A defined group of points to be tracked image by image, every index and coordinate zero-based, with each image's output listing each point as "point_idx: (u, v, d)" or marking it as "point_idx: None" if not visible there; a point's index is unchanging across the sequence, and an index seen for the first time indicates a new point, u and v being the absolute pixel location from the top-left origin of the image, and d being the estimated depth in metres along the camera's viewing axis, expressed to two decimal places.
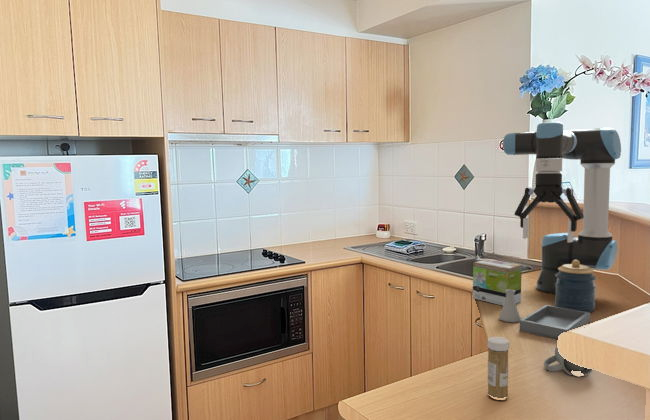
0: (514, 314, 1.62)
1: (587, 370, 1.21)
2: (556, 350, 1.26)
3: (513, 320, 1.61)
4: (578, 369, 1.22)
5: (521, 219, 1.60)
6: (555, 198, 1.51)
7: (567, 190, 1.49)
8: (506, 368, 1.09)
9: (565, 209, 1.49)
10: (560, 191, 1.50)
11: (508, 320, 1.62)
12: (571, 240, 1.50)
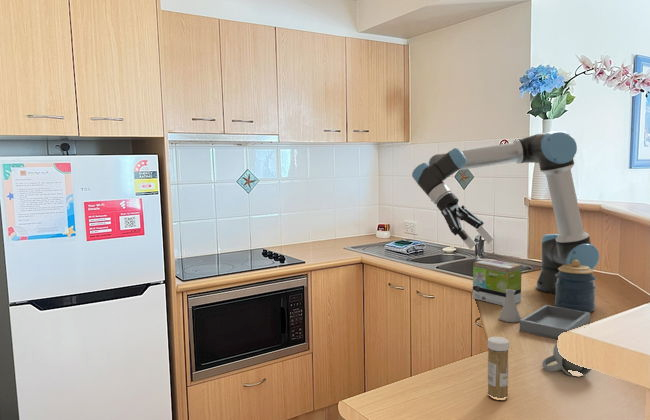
0: (514, 314, 1.62)
1: (585, 370, 1.21)
2: (554, 350, 1.26)
3: (513, 320, 1.61)
4: (576, 369, 1.22)
5: None
6: None
7: None
8: (506, 368, 1.09)
9: None
10: None
11: (508, 320, 1.62)
12: (471, 245, 1.64)
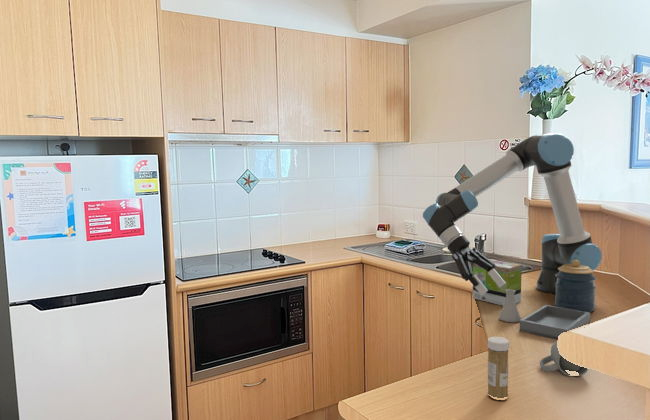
0: (514, 314, 1.62)
1: (582, 370, 1.21)
2: (552, 350, 1.26)
3: (513, 320, 1.61)
4: (574, 369, 1.22)
5: None
6: None
7: None
8: (506, 368, 1.09)
9: None
10: None
11: (508, 320, 1.62)
12: (483, 292, 1.62)
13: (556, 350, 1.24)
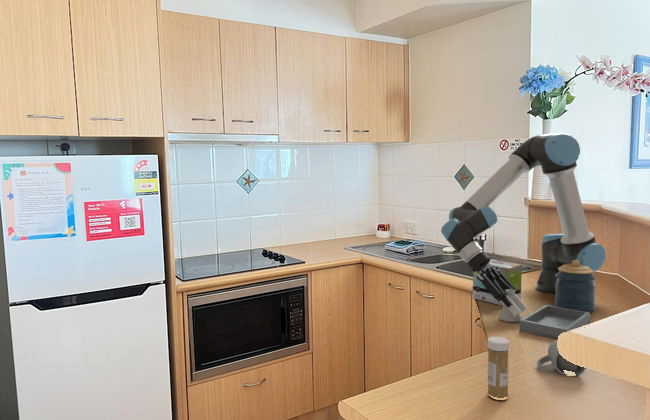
0: None
1: (580, 370, 1.21)
2: (549, 350, 1.26)
3: (513, 320, 1.61)
4: (571, 369, 1.22)
5: None
6: None
7: None
8: (506, 368, 1.09)
9: None
10: None
11: (508, 320, 1.62)
12: (516, 313, 1.60)
13: (553, 350, 1.24)
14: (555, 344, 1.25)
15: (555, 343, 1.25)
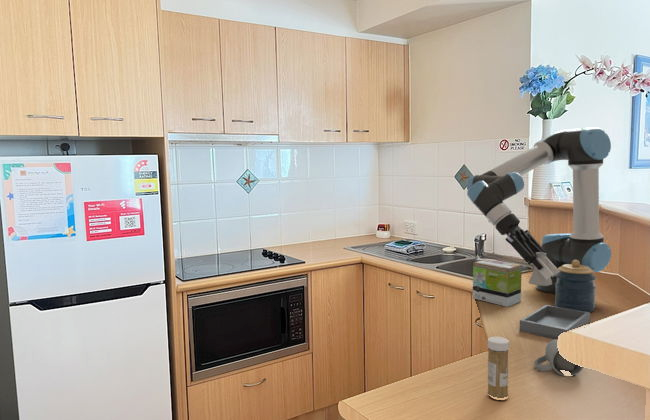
0: None
1: (577, 370, 1.21)
2: (546, 350, 1.26)
3: (544, 283, 1.54)
4: (568, 369, 1.22)
5: None
6: None
7: None
8: (506, 368, 1.09)
9: None
10: None
11: (539, 283, 1.55)
12: (548, 275, 1.53)
13: (550, 350, 1.24)
14: (552, 344, 1.25)
15: (553, 343, 1.26)
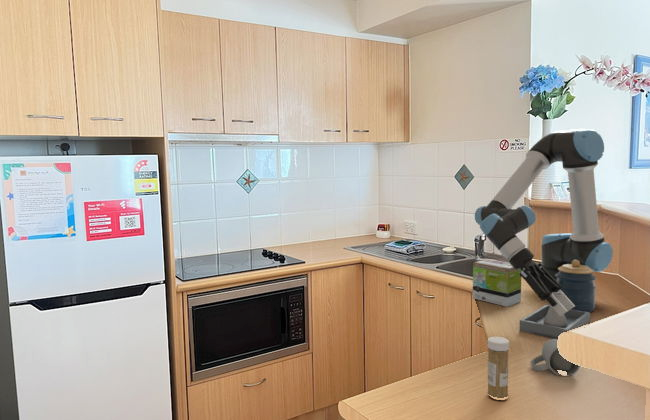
0: (560, 318, 1.54)
1: (573, 369, 1.21)
2: (543, 349, 1.26)
3: (560, 325, 1.53)
4: (564, 368, 1.22)
5: None
6: None
7: None
8: (506, 368, 1.09)
9: None
10: None
11: (554, 325, 1.54)
12: (562, 312, 1.51)
13: (547, 350, 1.24)
14: (549, 343, 1.25)
15: (549, 343, 1.26)
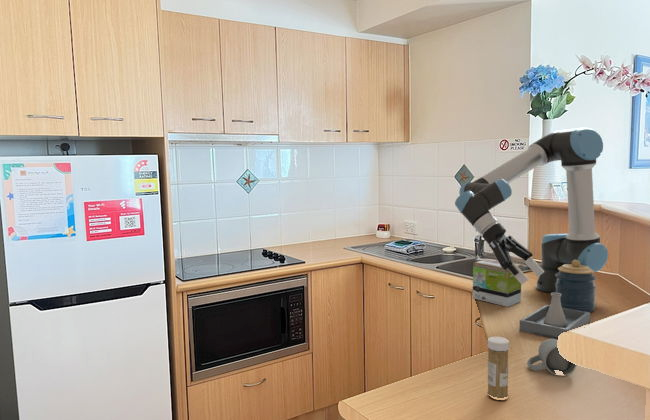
0: (560, 318, 1.54)
1: (569, 369, 1.22)
2: (539, 349, 1.27)
3: (560, 325, 1.53)
4: (561, 368, 1.22)
5: None
6: None
7: None
8: (506, 368, 1.09)
9: None
10: None
11: (554, 325, 1.54)
12: (523, 281, 1.55)
13: (543, 349, 1.24)
14: (545, 343, 1.26)
15: (546, 342, 1.26)
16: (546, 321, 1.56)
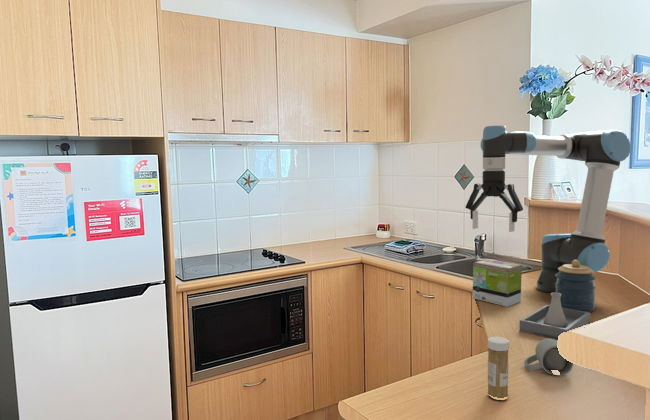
0: (560, 318, 1.54)
1: (566, 369, 1.22)
2: (536, 349, 1.27)
3: (560, 325, 1.53)
4: (557, 368, 1.22)
5: (471, 211, 1.79)
6: (498, 193, 1.71)
7: (508, 185, 1.68)
8: (506, 368, 1.09)
9: (507, 202, 1.69)
10: (503, 186, 1.70)
11: (554, 325, 1.54)
12: (512, 230, 1.70)
13: (540, 349, 1.24)
14: (542, 343, 1.26)
15: (543, 342, 1.26)
16: (546, 321, 1.56)
